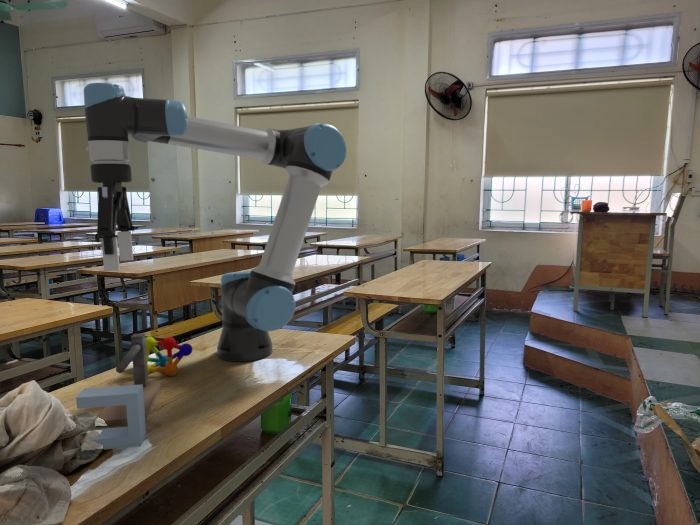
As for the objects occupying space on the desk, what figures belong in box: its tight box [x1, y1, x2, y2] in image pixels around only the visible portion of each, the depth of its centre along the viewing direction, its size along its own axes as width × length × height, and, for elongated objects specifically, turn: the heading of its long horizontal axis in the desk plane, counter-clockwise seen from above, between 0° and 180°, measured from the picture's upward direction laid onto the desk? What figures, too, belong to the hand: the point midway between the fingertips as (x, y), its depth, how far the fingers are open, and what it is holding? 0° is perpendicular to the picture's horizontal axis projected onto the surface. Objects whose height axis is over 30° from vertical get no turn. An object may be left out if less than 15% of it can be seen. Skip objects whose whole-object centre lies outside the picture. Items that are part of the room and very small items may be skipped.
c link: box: [75, 384, 147, 450], centre depth 88 cm, size 10×4×10 cm, turn 101°
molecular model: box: [145, 336, 193, 377], centre depth 123 cm, size 11×10×15 cm
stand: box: [97, 333, 163, 427], centre depth 104 cm, size 9×19×13 cm, turn 10°
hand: (119, 265), depth 104 cm, fingers open, 13 cm apart
